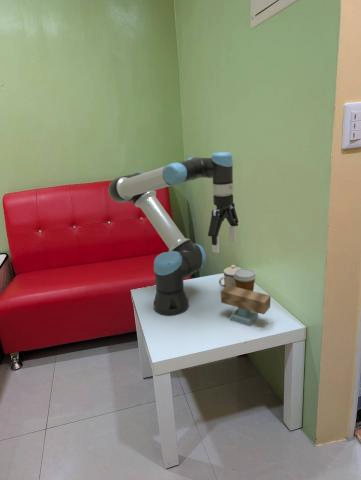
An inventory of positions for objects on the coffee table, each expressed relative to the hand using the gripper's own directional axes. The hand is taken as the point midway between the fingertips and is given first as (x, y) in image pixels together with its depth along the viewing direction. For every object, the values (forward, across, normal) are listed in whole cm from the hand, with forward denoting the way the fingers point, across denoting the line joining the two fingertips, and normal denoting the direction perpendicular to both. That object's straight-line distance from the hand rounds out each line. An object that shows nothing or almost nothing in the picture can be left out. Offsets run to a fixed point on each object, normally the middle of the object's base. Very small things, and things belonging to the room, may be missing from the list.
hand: (224, 246), depth 140 cm
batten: (+21, -5, -11) cm, 24 cm away
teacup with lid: (+27, +14, +5) cm, 31 cm away
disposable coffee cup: (+27, +10, -4) cm, 29 cm away
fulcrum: (+27, -5, -11) cm, 29 cm away
